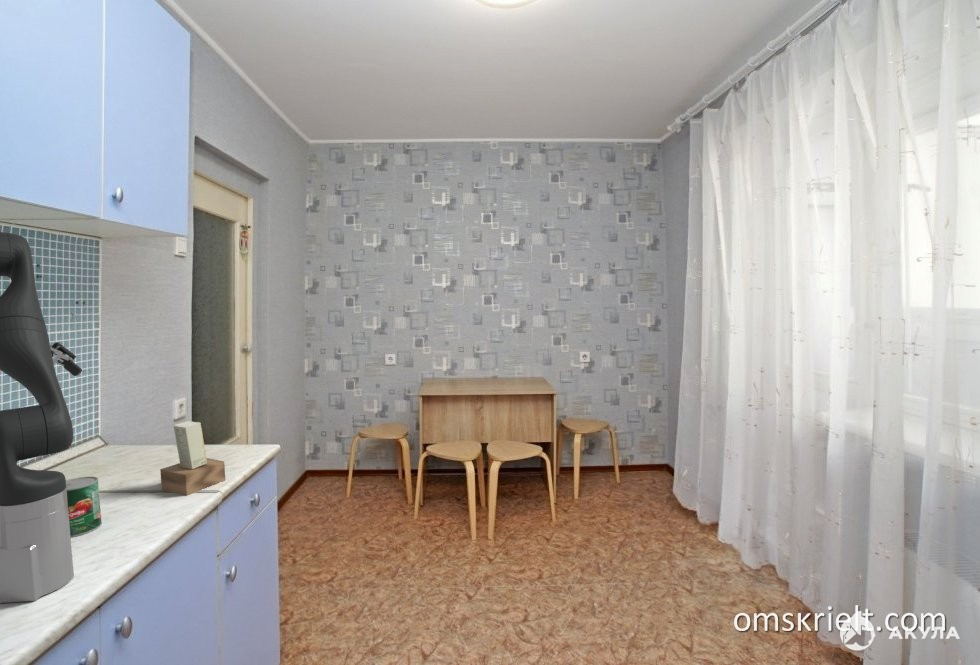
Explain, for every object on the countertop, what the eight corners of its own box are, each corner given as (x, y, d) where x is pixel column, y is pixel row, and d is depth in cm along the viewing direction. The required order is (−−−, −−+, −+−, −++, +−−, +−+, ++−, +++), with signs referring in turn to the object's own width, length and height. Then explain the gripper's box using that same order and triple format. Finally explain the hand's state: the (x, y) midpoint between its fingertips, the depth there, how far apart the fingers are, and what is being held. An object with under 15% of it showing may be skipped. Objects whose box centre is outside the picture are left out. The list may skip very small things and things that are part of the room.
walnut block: (187, 496, 122) (185, 475, 122) (161, 490, 127) (160, 469, 126) (225, 481, 132) (224, 461, 132) (200, 476, 137) (199, 456, 136)
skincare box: (207, 463, 129) (202, 422, 128) (191, 470, 125) (185, 427, 124) (195, 460, 132) (189, 420, 131) (178, 466, 128) (172, 424, 127)
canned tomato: (97, 518, 110) (94, 473, 109) (105, 527, 105) (101, 481, 104) (52, 531, 104) (48, 484, 103) (58, 542, 99) (54, 493, 98)
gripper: (-7, 322, 105) (50, 369, 107) (47, 319, 120) (97, 361, 121) (-30, 345, 105) (28, 392, 107) (27, 340, 119) (77, 382, 121)
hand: (65, 376), depth 114 cm, fingers open, 8 cm apart
